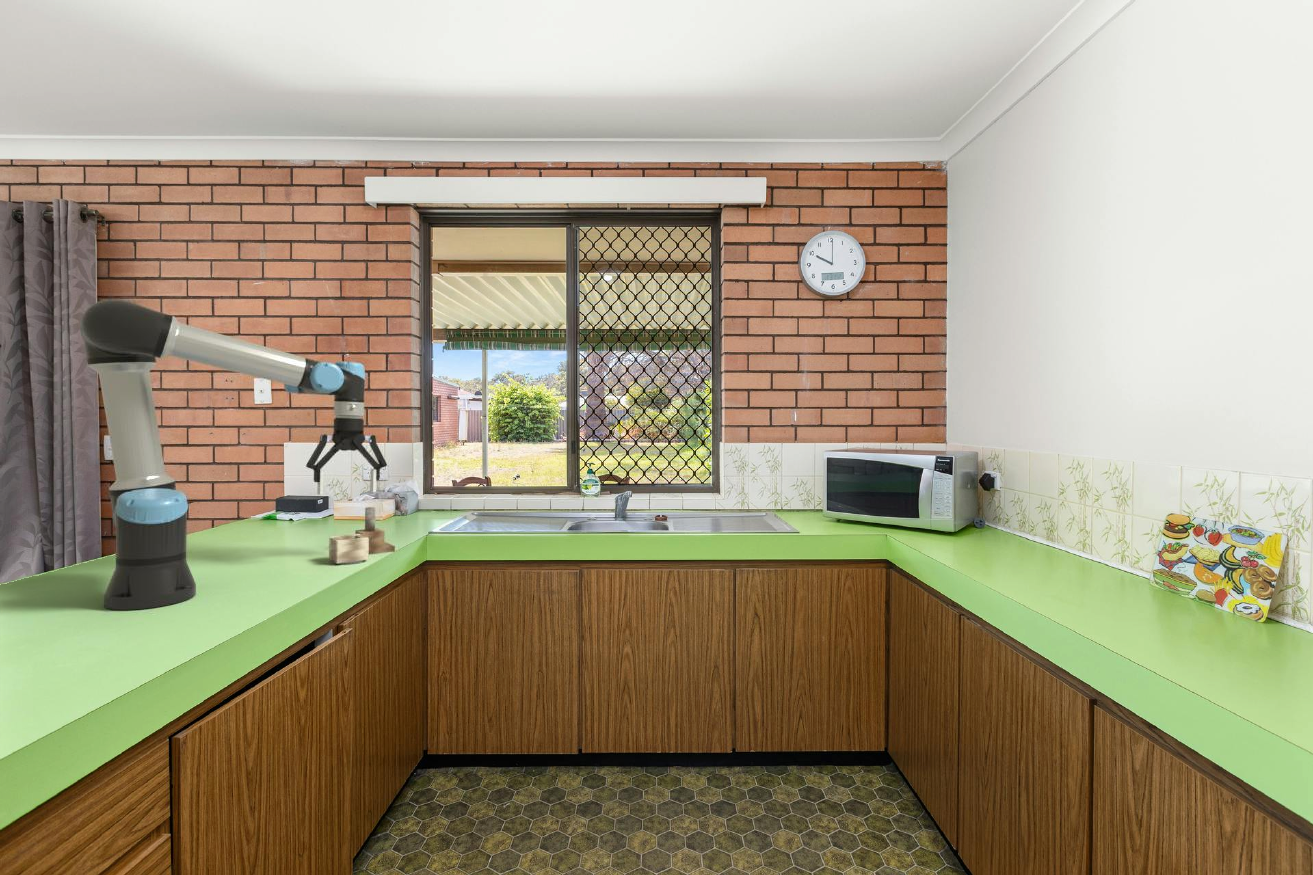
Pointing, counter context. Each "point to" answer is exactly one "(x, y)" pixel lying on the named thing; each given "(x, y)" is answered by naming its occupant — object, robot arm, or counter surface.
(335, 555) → the birch collar
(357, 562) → the rubber coaster
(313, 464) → the robot arm
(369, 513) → the post stand
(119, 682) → the counter surface
